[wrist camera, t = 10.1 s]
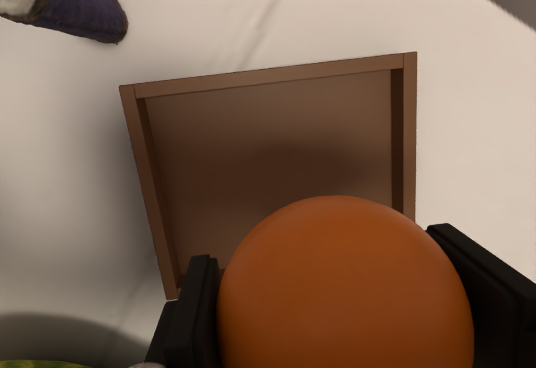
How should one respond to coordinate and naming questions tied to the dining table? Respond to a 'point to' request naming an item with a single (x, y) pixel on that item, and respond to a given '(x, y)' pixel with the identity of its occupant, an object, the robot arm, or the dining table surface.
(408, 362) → the mandarin
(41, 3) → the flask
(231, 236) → the tray
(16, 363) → the lettuce
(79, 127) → the dining table surface
